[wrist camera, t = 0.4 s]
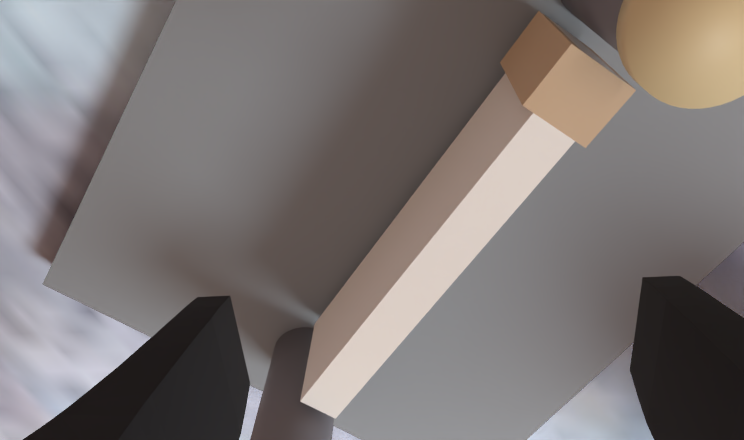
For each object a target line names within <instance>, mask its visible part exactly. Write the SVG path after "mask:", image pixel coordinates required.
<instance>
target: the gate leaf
mask: <svg viewBox="0 0 744 440" xmlns="http://www.w3.org/2000/svg"><path fill="white" fill-rule="evenodd" d="M500 64H501V66H502V67H503V69H504V71H505V74H504V76H503V77H502V78H501V79H500V81H499V82H498V83H497V85H496V86H495V87H494V89H493V90H492V91H491V93H490V94H489V95H488V97H487V98H486V99H485V101H484V102H483V103H482V104H481V106H480V107H479V108H478V110H477V111H476V112H475V114H474V115H473V116H472V118H471V119H470V120H469V122H468V123H467V124H466V125H465V127H464V128H463V129H462V131H461V132H460V133H459V135H458V136H457V137H456V139H455V140H454V141H453V143H452V144H451V145H450V147H449V148H448V149H447V150H446V152H445V153H444V154H443V156H442V157H441V158H440V160H439V161H438V162H437V164H436V165H435V166H434V168H433V169H432V170H431V171H430V173H429V174H428V175H427V177H426V178H425V179H424V181H423V182H422V183H421V185H420V186H419V187H418V189H417V190H416V191H415V193H414V194H413V195H412V196H411V198H410V199H409V200H408V202H407V203H406V204H405V206H404V207H403V208H402V210H401V211H400V212H399V214H398V215H397V216H396V218H395V219H394V220H393V221H392V223H391V224H390V225H389V227H388V228H387V229H386V231H385V232H384V233H383V235H382V236H381V237H380V239H379V240H378V241H377V242H376V244H375V245H374V246H373V248H372V249H371V250H370V252H369V253H368V254H367V256H366V257H365V258H364V260H363V261H362V262H361V264H360V265H359V266H358V267H357V269H356V270H355V271H354V273H353V274H352V275H351V277H350V278H349V279H348V281H347V282H346V283H345V285H344V286H343V287H342V288H341V290H340V291H339V292H338V294H337V295H336V296H335V298H334V299H333V300H332V302H331V303H330V304H329V306H328V307H327V308H326V310H325V311H324V312H323V313H322V315H321V316H320V317H319V319H318V320H317V321H316V323H315V325H314V330H313V335H312V340H311V346H310V351H309V356H308V362H307V367H306V372H305V378H304V383H303V388H302V393H301V399H300V402H302V403H304V404H306V405H308V406H310V407H313V408H315V409H317V410H319V411H321V412H323V413H325V414H327V415H329V416H331V417H333V418H335V419H336V418H337V417H338V415H339V414H340V413H341V412H342V411H343V410H344V408H345V407H346V406H347V405H348V404H349V403H350V401H351V400H352V399H353V398H354V397H355V396H356V395H357V393H358V392H359V391H360V390H361V389H362V388H363V386H364V385H365V384H366V383H367V382H368V381H369V379H370V378H371V377H372V376H373V375H374V374H375V373H376V371H377V370H378V369H379V368H380V367H381V366H382V364H383V363H384V362H385V361H386V360H387V359H388V357H389V356H390V355H391V354H392V353H393V352H394V351H395V349H396V348H397V347H398V346H399V345H400V344H401V342H402V341H403V340H404V339H405V338H406V337H407V335H408V334H409V333H410V332H411V331H412V330H413V329H414V327H415V326H416V325H417V324H418V323H419V322H420V320H421V319H422V318H423V317H424V316H425V315H426V313H427V312H428V311H429V310H430V309H431V308H432V307H433V305H434V304H435V303H436V302H437V301H438V300H439V298H440V297H441V296H442V295H443V294H444V293H445V291H446V290H447V289H448V288H449V287H450V286H451V285H452V283H453V282H454V281H455V280H456V279H457V278H458V276H459V275H460V274H461V273H462V272H463V271H464V269H465V268H466V267H467V266H468V265H469V264H470V263H471V261H472V260H473V259H474V258H475V257H476V256H477V254H478V253H479V252H480V251H481V250H482V249H483V247H484V246H485V245H486V244H487V243H488V242H489V241H490V239H491V238H492V237H493V236H494V235H495V234H496V232H497V231H498V230H499V229H500V228H501V227H502V225H503V224H504V223H505V222H506V221H507V220H508V219H509V217H510V216H511V215H512V214H513V213H514V212H515V210H516V209H517V208H518V207H519V206H520V205H521V203H522V202H523V201H524V200H525V199H526V198H527V197H528V195H529V194H530V193H531V192H532V191H533V190H534V188H535V187H536V186H537V185H538V184H539V183H540V181H541V180H542V179H543V178H544V177H545V176H546V175H547V173H548V172H549V171H550V170H551V169H552V168H553V166H554V165H555V164H556V163H557V162H558V161H559V159H560V158H561V157H562V156H563V155H564V154H565V152H566V151H567V150H568V149H569V148H570V147H571V146H572V144H573V143H574V142H575V141H576V142H577V143H579V144H580V145H582V146H583V147H584V148H586V147H587V146H588V145H589V144H590V142H591V141H592V140H593V139H594V138H595V137H596V136H597V134H598V133H599V132H600V131H601V130H602V129H603V128H604V126H605V125H606V124H607V123H608V122H609V121H610V120H611V118H612V117H613V116H614V115H615V114H616V113H617V112H618V110H619V109H620V108H621V107H622V106H623V105H624V104H625V102H626V101H627V100H628V99H629V98H630V97H631V96H632V95H633V93H634V92H635V91H636V90H635V89H634V88H633V87H632V86H631V85H630V84H629V83H628V82H627V81H626V80H625V79H623V78H622V77H621V76H620V75H619V74H618V73H617V72H616V71H615V70H614V69H613V68H612V67H611V66H609V65H608V64H607V63H606V62H605V61H604V60H603V59H602V58H601V57H600V56H599V55H598V54H596V53H595V52H594V51H593V50H592V49H591V48H589V47H588V46H587V45H585V44H584V43H583V42H581V41H580V40H578V39H577V38H576V37H574V36H573V35H571V34H570V33H569V32H567V31H566V30H565V29H563V28H562V27H560V26H559V25H558V24H556V23H555V22H554V21H552V20H551V19H549V18H548V17H547V16H545V15H544V14H542V13H541V12H540V11H538V12H537V14H536V15H535V16H534V18H533V19H532V20H531V22H530V23H529V24H528V26H527V27H526V28H525V30H524V31H523V32H522V34H521V35H520V36H519V38H518V39H517V40H516V42H515V43H514V44H513V46H512V47H511V48H510V50H509V51H508V52H507V54H506V55H505V56H504V58H503V59H502V60H501V62H500Z"/></svg>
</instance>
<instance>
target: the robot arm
mask: <svg viewBox="0 0 744 440" xmlns="http://www.w3.org/2000/svg"><path fill="white" fill-rule="evenodd" d="M630 372H631V375H632V378H633V382H634V385H635V388H636V392H637V395H638V398H639V401H640V404H641V407H642V410H643V413H644V416H645V419H646V422H647V425H648V427H649V429H650V431H651V434H652V436H653V438H654V440H744V318H742V317H741V316H740V315H738V314H737V313H735V312H734V311H732V310H731V309H729V308H728V307H726V306H725V305H724V304H722V303H721V302H719V301H718V300H716V299H715V298H713V297H712V296H710V295H709V294H707V293H706V292H704V291H703V290H701V289H700V288H698V287H697V286H695V285H694V284H692V283H691V282H689V281H688V280H686V279H684V278H683V277H681V276H661V277H642V285H641V292H640V299H639V307H638V314H637V322H636V329H635V336H634V344H633V351H632V359H631V366H630ZM249 386H250V380H249V375H248V371H247V367H246V362H245V358H244V354H243V349H242V345H241V340H240V336H239V332H238V327H237V323H236V319H235V314H234V310H233V305H232V301H231V297H230V296H209V297H197V298H196V299H194V300H193V301H192V302H191V303H189V304H188V305H187V306H186V307H185V308H184V309H182V310H181V311H180V312H179V313H178V314H177V315H176V316H175V317H174V318H172V319H171V320H170V321H169V322H168V323H167V324H166V325H165V326H164V327H162V328H161V329H160V330H159V331H158V332H157V333H156V334H155V335H154V336H153V337H151V338H150V339H149V340H148V341H147V342H146V343H145V344H144V345H142V346H141V347H140V348H139V349H138V350H137V351H136V352H135V353H133V354H132V355H131V356H130V357H129V358H128V359H127V360H125V361H124V362H123V363H122V364H121V365H120V366H119V367H117V368H116V369H115V370H114V371H113V372H111V373H110V374H109V375H108V376H106V377H105V378H104V379H103V380H101V381H100V382H99V383H98V384H97V385H95V386H94V387H93V388H92V389H90V390H89V391H88V392H87V393H85V394H84V395H83V396H82V397H81V398H79V399H78V400H77V401H76V402H74V403H73V404H72V405H71V406H69V407H68V408H67V409H65V410H64V411H63V412H61V413H60V414H59V415H57V416H56V417H55V418H53V419H52V420H50V421H49V422H48V423H46V424H45V425H44V426H42V427H41V428H39V429H38V430H36V431H35V432H33V433H32V434H30V435H29V436H28V437H26V438H25V439H23V440H239V437H240V434H241V429H242V424H243V419H244V414H245V409H246V404H247V398H248V392H249Z"/></svg>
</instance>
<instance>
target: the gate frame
mask: <svg viewBox="0 0 744 440" xmlns="http://www.w3.org/2000/svg"><path fill="white" fill-rule="evenodd" d="M538 11H540V12H541V13H542V14H544V15H545V16H547V17H548V18H549V19H551V20H552V21H554V22H555V23H556V24H558V25H559V26H560V27H562V28H563V29H565V30H566V31H567V32H569V33H570V34H571V35H573V36H574V37H576V38H577V39H578V40H580V41H581V42H583V43H584V44H585V45H587V46H588V47H589V48H591V49H592V50H593V51H594V52H595V53H596V54H598V55H599V56H600V57H601V58H602V59H603V60H604V61H605V62H606V63H607V64H608V65H609V66H611V67H612V68H613V69H614V70H615V71H616V72H617V73H618V74H619V75H620V76H621V77H622V78H623V79H625V80H626V81H627V82H628V83H629V84H630V85H631V86H632V87H633V88H634V89H635V90H636V91H635V92H634V93H633V95H632V96H631V97H630V98H629V99H628V100H627V101H626V102H625V104H624V105H623V106H622V107H621V108H620V109H619V110H618V112H617V113H616V114H615V115H614V116H613V117H612V118H611V120H610V121H609V122H608V123H607V124H606V125H605V126H604V128H603V129H602V130H601V131H600V132H599V133H598V134H597V136H596V137H595V138H594V139H593V140H592V141H591V142H590V144H589V145H588V146H587V147H586V148H584V147H583V146H582V145H580V144H579V143H577V142H576V141H575V142H574V143H573V144H572V146H571V147H570V148H569V149H568V150H567V151H566V152H565V154H564V155H563V156H562V157H561V158H560V159H559V161H558V162H557V163H556V164H555V165H554V166H553V168H552V169H551V170H550V171H549V172H548V173H547V175H546V176H545V177H544V178H543V179H542V180H541V181H540V183H539V184H538V185H537V186H536V187H535V188H534V190H533V191H532V192H531V193H530V194H529V195H528V197H527V198H526V199H525V200H524V201H523V202H522V203H521V205H520V206H519V207H518V208H517V209H516V210H515V212H514V213H513V214H512V215H511V216H510V217H509V219H508V220H507V221H506V222H505V223H504V224H503V225H502V227H501V228H500V229H499V230H498V231H497V232H496V234H495V235H494V236H493V237H492V238H491V239H490V241H489V242H488V243H487V244H486V245H485V246H484V247H483V249H482V250H481V251H480V252H479V253H478V254H477V256H476V257H475V258H474V259H473V260H472V261H471V263H470V264H469V265H468V266H467V267H466V268H465V269H464V271H463V272H462V273H461V274H460V275H459V276H458V278H457V279H456V280H455V281H454V282H453V283H452V285H451V286H450V287H449V288H448V289H447V290H446V291H445V293H444V294H443V295H442V296H441V297H440V298H439V300H438V301H437V302H436V303H435V304H434V305H433V307H432V308H431V309H430V310H429V311H428V312H427V313H426V315H425V316H424V317H423V318H422V319H421V320H420V322H419V323H418V324H417V325H416V326H415V327H414V329H413V330H412V331H411V332H410V333H409V334H408V335H407V337H406V338H405V339H404V340H403V341H402V342H401V344H400V345H399V346H398V347H397V348H396V349H395V351H394V352H393V353H392V354H391V355H390V356H389V357H388V359H387V360H386V361H385V362H384V363H383V364H382V366H381V367H380V368H379V369H378V370H377V371H376V373H375V374H374V375H373V376H372V377H371V378H370V379H369V381H368V382H367V383H366V384H365V385H364V386H363V388H362V389H361V390H360V391H359V392H358V393H357V395H356V396H355V397H354V398H353V399H352V400H351V401H350V403H349V404H348V405H347V406H346V407H345V408H344V410H343V411H342V412H341V413H340V414H339V415H338V417H337V418H336V419H335V418H333V417H331V416H329V415H327V414H325V413H323V412H321V411H319V410H317V409H315V408H313V407H310V406H308V405H306V404H304V403H302V402H300V399H301V393H302V388H303V383H304V378H305V372H306V367H307V362H308V356H309V351H310V346H311V340H312V335H313V330H314V325H315V323H316V321H317V320H318V319H319V317H320V316H321V315H322V313H323V312H324V311H325V310H326V308H327V307H328V306H329V304H330V303H331V302H332V300H333V299H334V298H335V296H336V295H337V294H338V292H339V291H340V290H341V288H342V287H343V286H344V285H345V283H346V282H347V281H348V279H349V278H350V277H351V275H352V274H353V273H354V271H355V270H356V269H357V267H358V266H359V265H360V264H361V262H362V261H363V260H364V258H365V257H366V256H367V254H368V253H369V252H370V250H371V249H372V248H373V246H374V245H375V244H376V242H377V241H378V240H379V239H380V237H381V236H382V235H383V233H384V232H385V231H386V229H387V228H388V227H389V225H390V224H391V223H392V221H393V220H394V219H395V218H396V216H397V215H398V214H399V212H400V211H401V210H402V208H403V207H404V206H405V204H406V203H407V202H408V200H409V199H410V198H411V196H412V195H413V194H414V193H415V191H416V190H417V189H418V187H419V186H420V185H421V183H422V182H423V181H424V179H425V178H426V177H427V175H428V174H429V173H430V171H431V170H432V169H433V168H434V166H435V165H436V164H437V162H438V161H439V160H440V158H441V157H442V156H443V154H444V153H445V152H446V150H447V149H448V148H449V147H450V145H451V144H452V143H453V141H454V140H455V139H456V137H457V136H458V135H459V133H460V132H461V131H462V129H463V128H464V127H465V125H466V124H467V123H468V122H469V120H470V119H471V118H472V116H473V115H474V114H475V112H476V111H477V110H478V108H479V107H480V106H481V104H482V103H483V102H484V101H485V99H486V98H487V97H488V95H489V94H490V93H491V91H492V90H493V89H494V87H495V86H496V85H497V83H498V82H499V81H500V79H501V78H502V77H503V76H504V74H505V71H504V69H503V67H502V66H501V64H500V62H501V60H502V59H503V58H504V56H505V55H506V54H507V52H508V51H509V50H510V48H511V47H512V46H513V44H514V43H515V42H516V40H517V39H518V38H519V36H520V35H521V34H522V32H523V31H524V30H525V28H526V27H527V26H528V24H529V23H530V22H531V20H532V19H533V18H534V16H535V15H536V14H537V12H538ZM743 242H744V0H176V2H175V4H174V6H173V8H172V10H171V12H170V14H169V17H168V19H167V21H166V23H165V25H164V27H163V29H162V31H161V34H160V36H159V38H158V40H157V42H156V44H155V46H154V48H153V51H152V53H151V55H150V57H149V59H148V61H147V63H146V65H145V68H144V70H143V72H142V74H141V76H140V78H139V80H138V82H137V85H136V87H135V89H134V91H133V93H132V95H131V97H130V99H129V102H128V104H127V106H126V108H125V110H124V112H123V114H122V116H121V119H120V121H119V123H118V125H117V127H116V129H115V131H114V133H113V136H112V138H111V140H110V142H109V144H108V146H107V148H106V150H105V153H104V155H103V157H102V159H101V161H100V163H99V165H98V167H97V170H96V172H95V174H94V176H93V178H92V180H91V182H90V184H89V187H88V189H87V191H86V193H85V195H84V197H83V199H82V201H81V204H80V206H79V208H78V210H77V212H76V214H75V216H74V218H73V221H72V223H71V225H70V227H69V229H68V231H67V233H66V235H65V238H64V240H63V242H62V244H61V246H60V248H59V250H58V252H57V255H56V257H55V259H54V261H53V263H52V265H51V267H50V269H49V272H48V274H47V276H46V278H45V280H44V282H43V285H45V286H47V287H49V288H51V289H53V290H55V291H57V292H59V293H61V294H63V295H65V296H68V297H70V298H72V299H74V300H76V301H78V302H80V303H82V304H84V305H86V306H88V307H90V308H92V309H94V310H96V311H98V312H100V313H102V314H105V315H107V316H109V317H111V318H113V319H115V320H117V321H119V322H121V323H123V324H125V325H127V326H129V327H131V328H133V329H135V330H137V331H139V332H142V333H144V334H146V335H148V336H150V337H153V336H154V335H155V334H156V333H157V332H158V331H159V330H160V329H161V328H162V327H164V326H165V325H166V324H167V323H168V322H169V321H170V320H171V319H172V318H174V317H175V316H176V315H177V314H178V313H179V312H180V311H181V310H182V309H184V308H185V307H186V306H187V305H188V304H189V303H191V302H192V301H193V300H194V299H196V298H197V297H209V296H230V297H231V301H232V305H233V310H234V314H235V319H236V323H237V327H238V332H239V336H240V340H241V345H242V349H243V354H244V358H245V362H246V367H247V371H248V375H249V380H250V385H251V386H253V387H255V388H257V389H259V390H261V391H263V394H262V397H261V401H260V405H259V409H258V413H257V416H256V420H255V424H254V428H253V432H252V435H251V439H250V440H332V431H333V426H335V427H337V428H339V429H341V430H343V431H345V432H347V433H349V434H351V435H353V436H355V437H357V438H359V439H362V440H527V439H528V438H529V437H530V436H531V435H532V434H533V433H534V432H536V431H537V430H538V429H539V428H540V427H541V426H542V425H543V424H544V423H545V422H547V421H548V420H549V419H550V418H551V417H552V416H553V415H554V414H555V413H556V412H558V411H559V410H560V409H561V408H562V407H563V406H564V405H565V404H566V403H567V402H569V401H570V400H571V399H572V398H573V397H574V396H575V395H576V394H577V393H578V392H580V391H581V390H582V389H583V388H584V387H585V386H586V385H587V384H588V383H589V382H591V381H592V380H593V379H594V378H595V377H596V376H597V375H598V374H599V373H600V372H602V371H603V370H604V369H605V368H606V367H607V366H608V365H609V364H610V363H611V362H613V361H614V360H615V359H616V358H617V357H618V356H619V355H620V354H621V353H622V352H624V351H625V350H626V349H627V348H628V347H629V346H630V345H631V344H632V343H633V342H634V336H635V329H636V322H637V314H638V307H639V299H640V292H641V285H642V277H661V276H681V277H683V278H684V279H686V280H688V281H689V282H691V283H692V284H694V285H695V286H696V285H697V284H698V283H699V282H700V281H702V280H703V279H704V278H705V277H706V276H707V275H708V274H709V273H710V272H711V271H713V270H714V269H715V268H716V267H717V266H718V265H719V264H720V263H721V262H722V261H724V260H725V259H726V258H727V257H728V256H729V255H730V254H731V253H732V252H733V251H735V250H736V249H737V248H738V247H739V246H740V245H741V244H742V243H743Z"/></svg>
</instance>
